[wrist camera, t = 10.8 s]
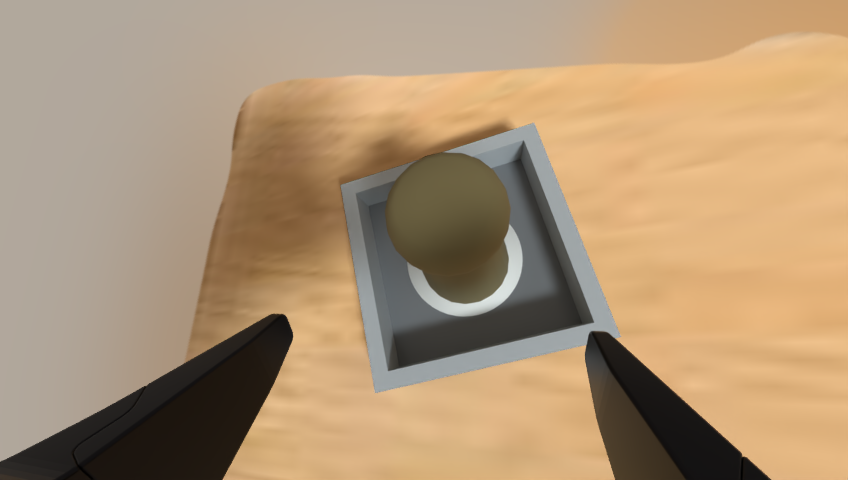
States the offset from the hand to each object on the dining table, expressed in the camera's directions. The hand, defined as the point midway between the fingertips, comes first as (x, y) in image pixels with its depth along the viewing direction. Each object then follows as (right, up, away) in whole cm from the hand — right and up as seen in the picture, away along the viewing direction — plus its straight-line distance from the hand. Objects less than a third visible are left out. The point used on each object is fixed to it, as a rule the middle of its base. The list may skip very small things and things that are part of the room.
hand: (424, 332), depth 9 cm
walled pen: (+3, +1, +13) cm, 14 cm away
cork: (+3, +1, +13) cm, 13 cm away
